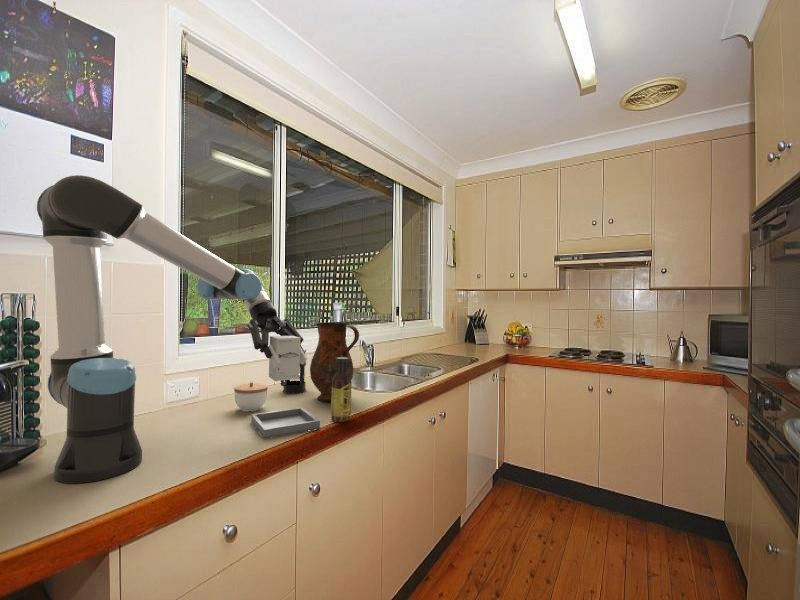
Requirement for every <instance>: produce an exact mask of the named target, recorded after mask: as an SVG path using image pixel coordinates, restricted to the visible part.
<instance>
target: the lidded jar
mask: <svg viewBox="0 0 800 600" xmlns="http://www.w3.org/2000/svg"><path fill="white" fill-rule="evenodd" d="M268 386H269V385H267V384H264V383H254V381H249V383H245V384H240V385H236V386H235V387H234V390H233V391H234V401H235V404H236V406H237V407H238V408H239V409H240V411H241V410H242V411H241V412H245V411H248V412H247V413H249V411H251V412H257V411H259V410H260V409H261V408H262V407H263V406H264V405H265V403H266V400H267V396H268ZM256 410H257V411H256Z"/></svg>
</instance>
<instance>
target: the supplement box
mask: <svg viewBox="0 0 800 600" xmlns="http://www.w3.org/2000/svg"><path fill="white" fill-rule="evenodd" d="M269 345H272V347H273V349H274V351H275V353H276V355H277V356H278V358H279V360H280V362H281V363H280V364H279V366H278V367H277V368H276V369H274V367H273V365H272V363H271V361H270V360H269V359H268V361H269V362H268V377H269V378H270V379H271V380H273V381H275V382H279V381H280V382H281V380H284V381H285V380H290V381H292V380H300V378H299V377H300V337H296V336H281V335H271V336H269Z"/></svg>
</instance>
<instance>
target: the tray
mask: <svg viewBox="0 0 800 600" xmlns="http://www.w3.org/2000/svg"><path fill="white" fill-rule="evenodd" d="M250 417H251V418H250V423H251V424H252V425H253V427H254V428H255V429H256V431H257V432H258V433H259V434H260V436H261V437H262V438H263V440H267V439H272V438H271V437H273V438H277V436H278V437H283V436H282V435H284V436H289V434H290V435H295V434H300V433H299V432H301V433H305V432H304V431H307V432H309V431H308V430H312V431H315V430H314V429H318V430H321V420H320V419H319V418H317V417H316V416H314V415H313V414H312V413H310V412H309V411H308V410H306V409H305V408H303V407H296V408H289V409H281V410H273V411H267V412H260V413H252V414H250ZM294 433H295V434H294ZM266 438H267V439H266Z"/></svg>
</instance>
